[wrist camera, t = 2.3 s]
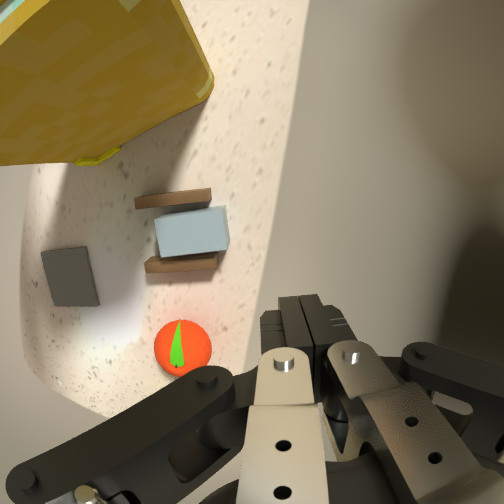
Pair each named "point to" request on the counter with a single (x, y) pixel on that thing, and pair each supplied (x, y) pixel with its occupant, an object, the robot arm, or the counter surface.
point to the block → (193, 231)
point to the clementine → (182, 347)
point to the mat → (70, 277)
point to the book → (92, 76)
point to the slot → (180, 261)
